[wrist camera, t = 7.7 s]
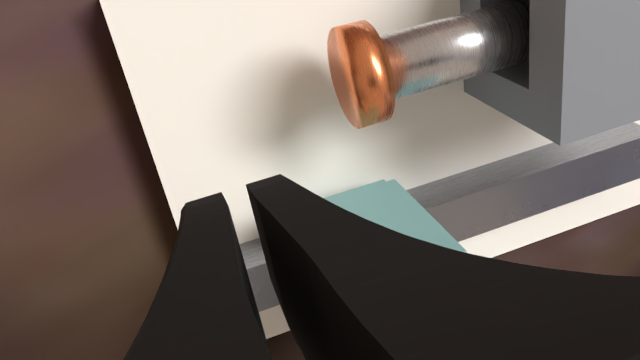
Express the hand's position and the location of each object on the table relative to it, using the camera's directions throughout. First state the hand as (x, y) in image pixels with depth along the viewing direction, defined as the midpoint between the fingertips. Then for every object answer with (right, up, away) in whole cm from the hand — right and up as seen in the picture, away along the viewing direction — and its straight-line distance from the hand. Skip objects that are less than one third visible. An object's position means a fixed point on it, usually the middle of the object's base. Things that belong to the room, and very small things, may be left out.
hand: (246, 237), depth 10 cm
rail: (+6, +1, +13) cm, 14 cm away
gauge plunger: (+4, +5, +8) cm, 10 cm away
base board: (+5, +3, +11) cm, 13 cm away
